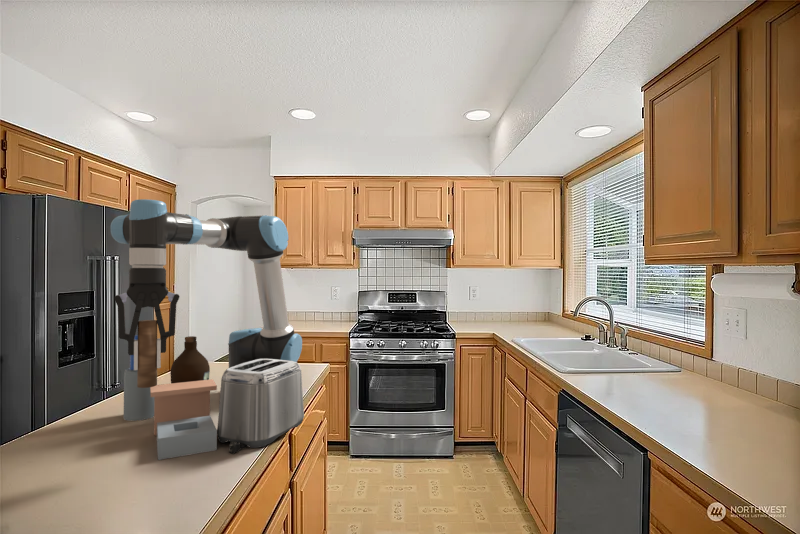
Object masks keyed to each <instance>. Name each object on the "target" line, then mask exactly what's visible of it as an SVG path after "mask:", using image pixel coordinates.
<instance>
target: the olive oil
mask: <svg viewBox="0 0 800 534" xmlns="http://www.w3.org/2000/svg"><path fill="white" fill-rule="evenodd" d="M183 344H184V346H183V347H184V350H183V351H181V353H180V354H179V355H178V356H177V357H176V358H175V360H174V361H173V362H172V365H171V367H170V384H171V383H181V382H191V381H201V380H210V373H211V372H210V371H211V370H210V369H211V368H210V363H209V361H208V359H207V358H206V357H205V356H204V355H203V354H202V353H201V352H200V351H199V350H198V348H197V347H198V346H197V345H198V342H197V336H195V335H193V336H191V335H190V336H185V337H184V341H183Z"/></svg>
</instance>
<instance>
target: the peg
mask: <svg viewBox="0 0 800 534" xmlns="http://www.w3.org/2000/svg"><path fill="white" fill-rule="evenodd" d="M137 335H138V370H137V387H138V388H149V387H154V386H156V385H158V368H157V339H158V324H157V319H144V320H143V319H141V320H139V321H138V325H137Z"/></svg>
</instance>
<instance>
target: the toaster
mask: <svg viewBox="0 0 800 534" xmlns="http://www.w3.org/2000/svg"><path fill="white" fill-rule="evenodd" d="M302 375H303V374H302V369H301V364H299V363H298V361H297V362H294V361H288V360H278V359H257V360H253V361H249V362H245V363H242V364H239V365H236V366H233V367H230V368H229V367H228V368H227V369H225V370H224V371H223V373H222V376H221V380H220V393H219V405H218V417H217V419H218V420H217V427H216V430H217V440H218V441H219V442H220V443H222V444H225V443H227V442H230V443H229V449H228V452H229V453H230V454H233V455H234V454H235V453H236V452H239V451H241V450H243V449H247V447H248V448H251V449H252V448H255V449H257V448H264V447H267V445H269V444H271V443H273V442H274V441H276V439H278V438H279V437H280V436H282V435H284V434H285V433H288V431H290V430H292V429H294V428H297V427H299V426H300V425H302V423H303V421H304V418H305V408H304V395H303V379H302V377H303V376H302Z"/></svg>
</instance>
